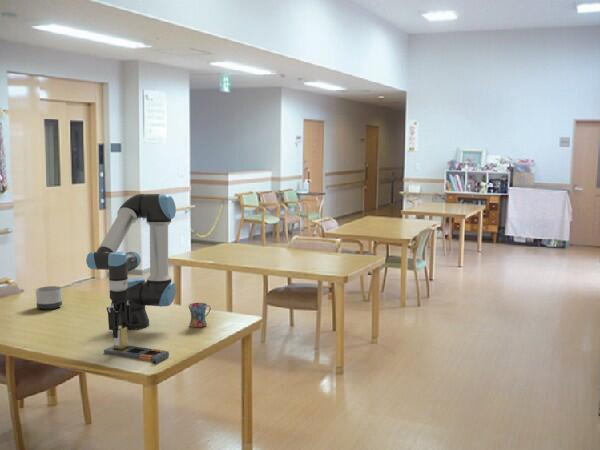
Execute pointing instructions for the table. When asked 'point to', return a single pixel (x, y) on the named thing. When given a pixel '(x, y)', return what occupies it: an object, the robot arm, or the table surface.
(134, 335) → the table surface
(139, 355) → the rail
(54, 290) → the planter
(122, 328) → the tan rectangular block
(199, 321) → the mug
